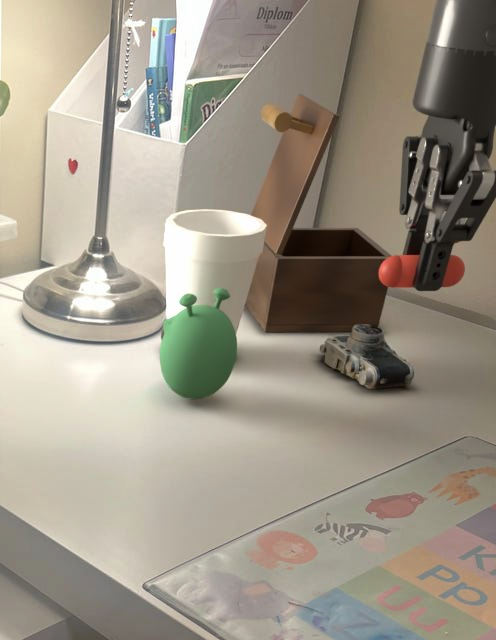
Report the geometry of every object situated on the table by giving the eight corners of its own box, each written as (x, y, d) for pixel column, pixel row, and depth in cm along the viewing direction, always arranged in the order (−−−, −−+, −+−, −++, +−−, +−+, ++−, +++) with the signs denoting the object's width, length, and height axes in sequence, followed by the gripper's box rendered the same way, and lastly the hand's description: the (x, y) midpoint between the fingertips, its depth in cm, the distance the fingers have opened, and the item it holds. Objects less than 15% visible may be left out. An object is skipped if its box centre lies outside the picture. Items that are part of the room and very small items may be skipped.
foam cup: (233, 378, 96) (255, 241, 88) (142, 363, 99) (156, 228, 91) (251, 345, 103) (273, 215, 95) (166, 332, 106) (181, 205, 98)
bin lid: (304, 95, 103) (262, 81, 102) (340, 116, 94) (294, 101, 92) (253, 224, 110) (213, 213, 109) (281, 255, 101) (238, 243, 100)
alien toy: (189, 373, 97) (202, 270, 91) (245, 400, 92) (263, 294, 86) (135, 389, 94) (145, 283, 87) (190, 418, 89) (205, 308, 83)
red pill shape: (452, 281, 82) (461, 250, 80) (464, 291, 80) (474, 260, 78) (371, 282, 81) (378, 251, 80) (381, 292, 79) (389, 260, 78)
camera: (366, 395, 93) (376, 352, 91) (312, 355, 101) (321, 315, 99) (412, 390, 94) (424, 348, 92) (356, 351, 102) (365, 311, 100)
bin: (342, 296, 116) (357, 227, 111) (377, 331, 107) (395, 258, 102) (238, 296, 115) (249, 227, 111) (264, 332, 106) (277, 258, 101)
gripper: (583, 53, 65) (500, 312, 75) (489, 27, 76) (428, 257, 86) (473, 52, 64) (406, 313, 75) (395, 27, 75) (346, 258, 86)
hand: (418, 282), depth 80 cm, fingers closed on red pill shape, 2 cm apart
